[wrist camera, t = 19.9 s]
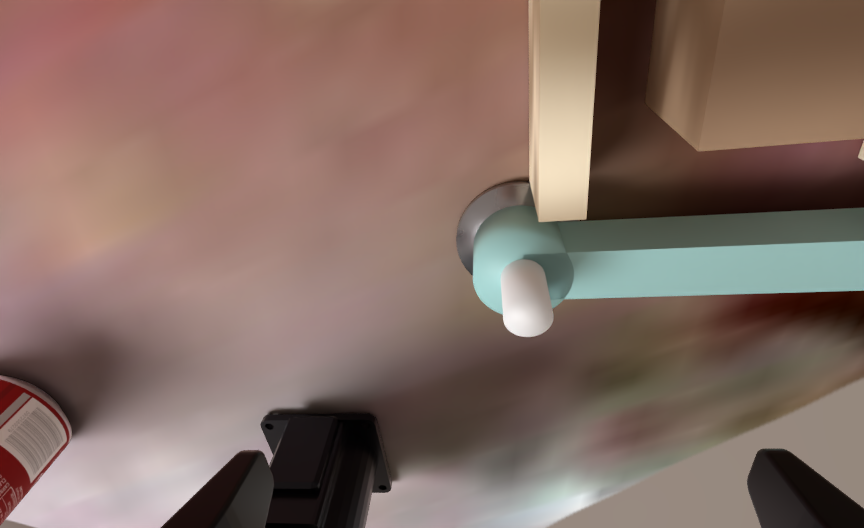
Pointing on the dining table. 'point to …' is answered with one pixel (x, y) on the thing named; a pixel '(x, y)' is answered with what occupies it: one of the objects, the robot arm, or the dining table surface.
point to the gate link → (660, 258)
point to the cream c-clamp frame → (563, 105)
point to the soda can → (27, 439)
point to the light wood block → (758, 71)
